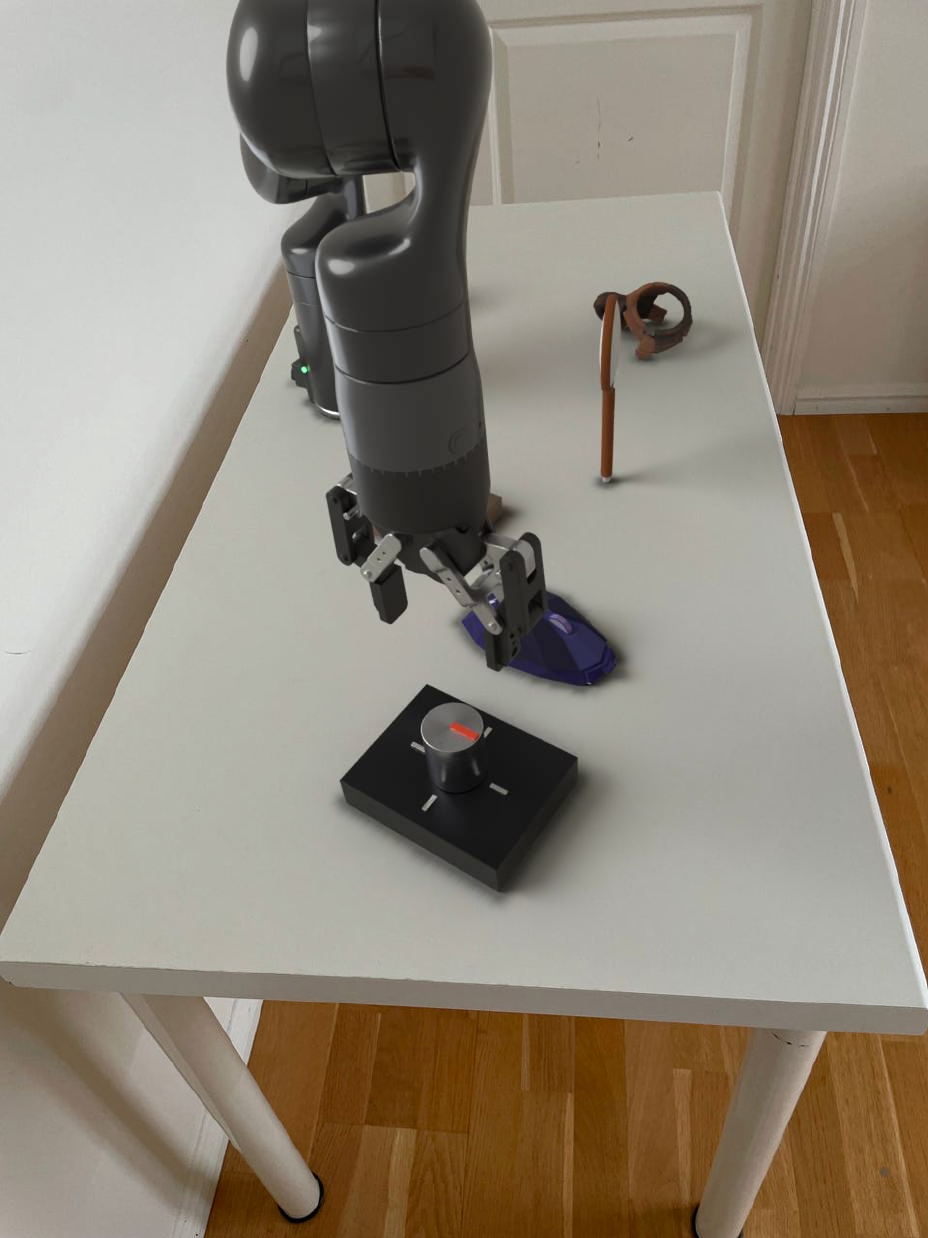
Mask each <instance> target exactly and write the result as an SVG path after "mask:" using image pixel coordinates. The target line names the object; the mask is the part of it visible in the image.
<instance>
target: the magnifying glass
mask: <svg viewBox="0 0 928 1238" xmlns="http://www.w3.org/2000/svg"><path fill="white" fill-rule="evenodd" d="M600 329H601V330H600V339H599V374H600V388H601V392H602V395H601V396H602V401H601V403H602V404H601V437H600V438H601V439H600V445H601V447H600V476H601V477H602V482H603V483H609V482H611V477H612V476H613V467H614V439H615V438H614V437H615V436H614V435H615V410H616V409H615V405H616V388H615V387H614V385H615V378H616V376H617V371H618V365H619V359H620V349H621V337H622V336H621V335H622V334H621V332H622V329H621V325H620V311H619V297H618V295H615V294H611V295H609V296H608V298H607V301H606V307H605V313H604V317H603V321H602V322H601V328H600Z"/></svg>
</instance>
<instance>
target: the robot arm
mask: <svg viewBox="0 0 928 1238" xmlns="http://www.w3.org/2000/svg"><path fill="white" fill-rule="evenodd" d="M489 29H490V28H489V26H488V23H487V19H486V16H485V15H484V12H483V9H482V8H481V6H480V4H479V3H478V0H239V1H238V3H237V5H236V8H235V11H234V15H233V17H232V20H231V24H230V29H229V35H228V39H227V47H226V57H225V76H226V91H227V96H228V100H229V105H230V110H231V112H232V115H233V119H234V121H235V124H236V126H237V130H238V131H239V150H240V156H241V161H242V166H243V168H244V173H245V175H246V177H247V180H248V182H249V184H250V185H251V188H252V189H253V190H254V191H255V193H256V194H258V195H259V197H260V198H262V199H263V200H264V201H266V202H268V203H270V204H272V205H273V204H274V205H278V206H279V205H280V206H281V205H290V204H291V205H292V204H296V203H300V202H303V201H307V200H310V199H313V198H315V199H314V201H313V203H312V204H311V206H310V207H309V208H308V210H307V211H306V212H305V213H304V214H302V216H301V217H300V218H298V219H297V220H296V221H295V222H293V224H291V225H290V226H289V227H288V228H287V229H286V230H285V231H284V233H283V234H282V236H281V239H280V244H279V245H280V253H281V257H282V262H283V266H284V270H285V273H286V278H287V282H288V286H289V292H290V296H291V299H292V303H293V308H294V314H295V317H296V321H297V324H296V325H295V326H294V328H293V335H294V336H293V337H294V340H295V344H296V348H297V353H298V357H299V358H298V359H296V360H294V361H293V362H292V363H291V370H290V379H291V380H292V381H295V385H296V386H297V387H300V388H303V389H306V392H307V395H308V400H309V402H311V403H313V404H314V406H315V408H316V410H317V411H318V412H319V413H320V414H321V415H323V416H325V417H327V418H331V419H334V420H340V424H341V429H342V433H343V438H344V443H345V447H346V452H347V456H348V461H349V466H350V472H349V473H348V474H347V475H345V476H344V477H343V478H341V479H340V481H338V482H337V483H336V484H334V486H333V487H332V488H330V489H329V490H328V491H327V492H326V493H325V500H326V504H327V510H328V516H329V520H330V526H331V531H332V536H333V542H334V547H335V553H336V557H337V559H338V560H339V562H340V563H341V564H343V565H344V566H347V567H351V565H353V564H354V565H355V566H357V567H358V568H360V569H359V572H360V575H361V576H362V577H363V579H364V580H366V581H367V582H368V584H369V588H370V589H369V590H370V593H371V598H372V603H373V606H374V607H375V610H376V611H377V612H378V618H379V620H380V621H381V622H383V623H386V624H387V625H393V624H394V623H395V622H396V621H397V620H398V619H399V618H400V617H401V616H402V615H403V614H404V613H405V612H406V611H407V608H408V607H409V600H408V596H407V595H408V594H407V590H406V584H405V579H404V574H403V568H402V565H400V564H397V563H395V562H396V561H397V560H398V561H399V562H400V563H401V564H403V565H404V568H405V570H407V571H410V572H412V573H414V574H418V575H425V576H427V577H428V578H430V579H432V580H433V581H435V582H436V583H439V584H441V585H444V586H446V588H447V589H448V590H449V592H450V593H451V595H452V597H454V599H455V601H457V603H458V604H459V605H460V607H462V608H470V609H471V611H472V610H473V611H474V613H475V614H476V616H477V617H478V618H479V620H480V621H481V622H482V624H483V625H484V627H485V628H484V629H483V634H484V643H485V650H484V651H485V660H486V661H485V662H486V667H487V668H488V669H490V670H491V671H495V672H497V673H499V672H501V671H502V669H503V668H504V667H505V668H508V667H509V666H508V665H509V664H510V662H511V661H512V660H513V659H514V658H515V656H516V655H517V654H518V653H519V651H520V649H521V645H520V638H524V637H525V636H526V635H527V634H528V633H529V632H530V631H531V629H532V628H533V627H534V626H535V625H536V623H537V622H538V621H539V620H540V619H541V617H542V616H543V615H544V614H545V613H546V612H547V610H548V603H547V594H546V591H547V586H546V585H547V584H546V576H545V568H544V559H543V550H542V549H543V548H542V541H541V540H540V538H539V537H538V536H537V534H535V533H533V532H530V531H526V532H524V533H523V534H522V535H521V536H520V537H519V538H518V539H514V538H511V537H509V536H504V535H501V534H498V533H497V532H496V529H495V526H494V524H493V525H492V523H491V522H490V520H489V517H488V514H487V507H488V501H489V495H490V493H491V485H492V484H491V483H492V482H491V471H490V459H489V450H488V449H489V448H488V438H487V437H488V436H487V435H488V434H487V426H486V424H487V423H486V416H485V415H486V413H485V403H484V393H483V382H482V376H481V370H480V366H479V362H478V359H477V354H476V352H475V351H476V350H475V345H474V338H473V328H472V315H471V307H470V306H471V305H470V296H469V282H468V281H469V280H468V266H467V265H468V262H467V249H468V248H467V243H468V242H467V241H468V240H467V239H468V238H467V237H468V236H467V235H468V222H469V211H470V204H471V196H472V191H473V190H472V189H473V184H474V183H473V182H474V178H475V177H474V176H475V173H476V172H475V171H476V168H477V162H478V157H479V153H480V152H479V151H480V147H481V143H482V137H483V132H484V127H485V124H486V123H485V122H486V119H487V118H486V117H487V113H488V107H489V100H490V96H491V91H492V90H491V89H492V78H493V61H494V60H493V45H492V38H491V34H490V30H489ZM398 173H399V174H400V173H412V174H413V175H414V178H415V185H414V186H413V187H412V189H411V190H410V192H409V193H408V194H407V195H406V196H405V197H404V198H402V199H400V200H399V201H398V202H395V203H393V204H390V205H388V206H386V207H383V208H379V209H378V210H377V209H376V210H374V211H372V212H368V210H367V201H366V195H365V194H366V193H365V185H364V176H373V175H374V176H375V175H386V174H387V175H389V174H398ZM372 524H373V525H372ZM373 526H374V527H375V529H376V530H377V531H378V533H379V534H380V536H381V537H380V536H379V537H380V538H382V540H380V543H378V544H377V543H375V542H376V538H375V534H374V531H373ZM478 564H479V566H480V570H481V573H480V575H479V576H478V577H477V578H476V579H475V580H474V582H472V583H471V584H469V583H468V581H467V580H466V578H465V577H466V576H468V575H469V573H470V572H472V570H473V569H474V568H475V567H476V566H477V565H478ZM490 592H491V593H493V594H494V595H495V597H496V598H497V600H498V601H499V602H500V603H499V604H498V606H497V607H496V608H495V609H494V608H493V606H492V605H491V604H490V602H489V601H488V599H487V597H488V596H489V594H490Z"/></svg>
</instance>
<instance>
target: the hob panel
mask: <svg viewBox="0 0 928 1238" xmlns="http://www.w3.org/2000/svg"><path fill="white" fill-rule="evenodd" d="M446 703H463V704H466V705H468V706H471V707H472V708H474V709H475V710H476V711H477V712H478V713H479V714H480V716H481V718H482V721H483V727H484V736H485V745H486V754H487V762H488V770H487V774H486V776H485V778H484V780H483V781H482V782H481V783H480V784H479V785H478V786H477V787H475V788H474V789H472V790H469V791H466V792H462V793H451V792H447V791H444V790H442V789H440V788H438V787H437V786H436V785H435V784H434V783H433V782H432V780H431V778H430V775H429V771H428V766H427V760H426V755H425V750H424V745H423V740H422V734H421V725H422V722H423V720H424V718H425V716H426V715H427V714H428V713H429V712H430V711H431V710H432V709H434V708H435V707H437V706H440V705H442V704H446ZM578 781H579V757H578V756H576V755H574V754H573V753H570V752H568V751H566V750H564V749H562V748H560V747H558V746H556V745H554V744H552V743H550V742H548V741H546V740H544V739H541V738H539V737H537V736H535V735H534V734H531V733H530V732H527V731H525V730H523V729H521V728H519V727H517V726H515V725H513V724H511V723H508V722H507V721H504V720H503V719H500V718H498V717H496V716H494V715H492V714H490V713H488V712H487V711H484V710H482V709H480V708H478V707H476V706H474V705H472V704H470V703H467V702H466V701H463V700H461V699H460V698H457V697H455V696H454V695H450V694H449V693H448V692H445V691H443V690H441V689H439V688H437V687H434V686H432V685H430V684H428V683H426V684H424V686H423V687H422V688H421V689H420V691H418V692H417V694H416V695H415V696H414V697H413V698H412V699H411V701H410V702H408V704H407V705H405V707H404V708H403V710H401V711H400V713H399V714H398V715H397V716H396V717H395V718H394V719H393V720H392V722H390V724H389V725H388V726H387V727H386V728H385V729H384V730H383V731H382V732H381V734H380V735H379V736H378V737H377V738H376V739H375V740H374V741H373V743H372V744H371V745H370V746H369V747H368V748H367V749H366V751H364V752H363V754H362V755H361V756H360V757H359V758H358V759H357V760H356V762H354V764H353V765H352V766H351V767H350V768H349V769H348V770H347V772H346V773H345V774H344V775H343V776H342V777H341V778H340V779H339V782H340V786H341V790H342V794H343V797H344V798H345V802H346V804H348V805H349V806H351V807H353V808H355V809H356V810H358V811H359V812H361V813H363V814H365V815H367V816H368V817H370V818H371V819H373V820H374V821H376V822H379V823H380V824H382V825H384V826H385V827H386V828H389V829H390V830H392V831H394V832H395V833H397V834H399V835H401V836H403V837H404V838H405V839H407V840H409V841H411V842H412V843H415V845H418V846H419V847H421V848H423V849H425V850H426V851H428V852H430V853H431V854H433V855H434V856H437V857H438V858H439V859H442V861H445V862H447V863H448V864H450V865H452V866H453V867H455V868H456V869H459V870H460V871H462V872H464V873H465V874H467V875H468V876H470V877H472V878H474V879H476V880H477V881H479V882H481V883H482V884H485V885H486V886H488V887H489V888H491V889H493V890H494V891H496V892H497V893H499V892H500V891H501V889H502V888H503V887H504V886H505V884H506V882H507V881H508V879H509V878H510V877H511V875H513V872H514V871H515V870H516V868H517V867H519V865H520V864H521V862H522V860H523V858H524V857H525V856H526V855H527V853H528V851H529V850H530V849H531V847H532V846H533V844H534V843H535V841H536V840H537V839H538V838H539V836H540V835H541V833H542V831H544V830H545V827H546V826H547V825H548V823H549V822H550V821H551V819H552V818H553V816H554V815H555V813H556V812H557V811H558V810H559V808H560V807H561V805H562V803H563V802H564V801H565V799H566V798H567V796H568V795H569V794H570V792H571V791H572V789H573V788H574V787H575V785H576V784H577V782H578Z"/></svg>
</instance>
